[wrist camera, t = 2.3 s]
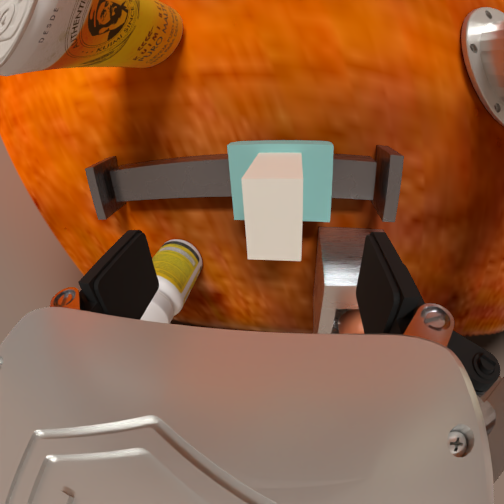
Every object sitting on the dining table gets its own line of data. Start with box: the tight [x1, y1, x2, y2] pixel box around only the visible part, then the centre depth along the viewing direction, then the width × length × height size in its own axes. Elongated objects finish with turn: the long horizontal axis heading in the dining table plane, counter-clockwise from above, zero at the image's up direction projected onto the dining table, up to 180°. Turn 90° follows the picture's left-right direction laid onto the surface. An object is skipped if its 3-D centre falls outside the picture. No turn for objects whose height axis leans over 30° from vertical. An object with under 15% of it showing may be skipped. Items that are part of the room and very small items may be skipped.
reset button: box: [338, 309, 364, 334], centre depth 17 cm, size 3×3×4 cm
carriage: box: [227, 140, 333, 261], centre depth 17 cm, size 7×6×9 cm
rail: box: [85, 145, 404, 222], centre depth 20 cm, size 25×5×4 cm, turn 94°
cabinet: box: [313, 227, 384, 334], centre depth 21 cm, size 6×8×8 cm
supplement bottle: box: [140, 239, 202, 324], centre depth 24 cm, size 5×5×8 cm
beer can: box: [0, 0, 183, 76], centre depth 9 cm, size 6×6×15 cm
